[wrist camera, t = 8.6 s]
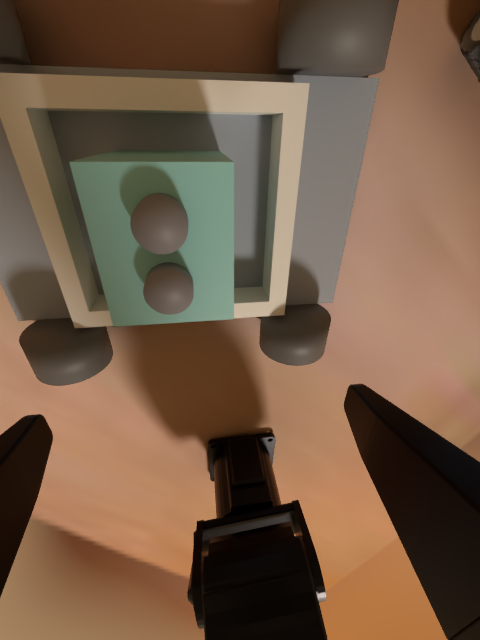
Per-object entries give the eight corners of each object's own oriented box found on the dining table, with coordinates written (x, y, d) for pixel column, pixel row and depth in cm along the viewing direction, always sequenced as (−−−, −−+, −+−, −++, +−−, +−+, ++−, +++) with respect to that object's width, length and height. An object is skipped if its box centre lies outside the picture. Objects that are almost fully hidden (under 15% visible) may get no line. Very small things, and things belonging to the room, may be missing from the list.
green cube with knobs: (222, 266, 18) (236, 329, 12) (136, 269, 17) (108, 338, 11) (219, 151, 14) (236, 164, 9) (113, 150, 14) (59, 164, 8)
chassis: (321, 323, 22) (347, 361, 19) (39, 342, 20) (5, 390, 16) (381, 13, 13) (454, -32, 10) (-122, -20, 11) (-283, -97, 7)
